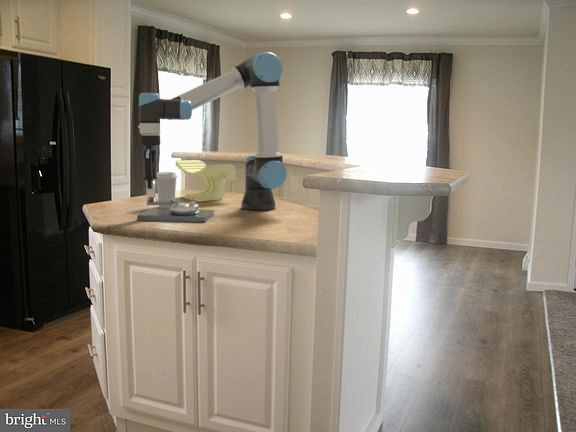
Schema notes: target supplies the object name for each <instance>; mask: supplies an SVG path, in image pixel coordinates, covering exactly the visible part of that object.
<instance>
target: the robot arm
mask: <svg viewBox="0 0 576 432" xmlns="http://www.w3.org/2000/svg"><path fill="white" fill-rule="evenodd" d="M283 68H284V67H283V64H282V61H281V59H280V57H279V56H278V55H276V54H275V53H273V52H270V51H269V52H268V51H263V52H259V53H257V54H254V55H252V56H250V57H248V58H247V59H245V60H243V61H242V62H241V63H239V64H237V65H235V66H233V67H232V68H231V70H230V71H228V72H226V73H224V74H222V75H219V76H218V77H215V78H214V79H212V80H209V81H206V82H204V83H202V84H200V85H198V86H197V87H194V88H192V89H190V90H188V91H186V92H185V91H184V93H181V94H179V95H177V96H175V97H173V98H170V99H167V98H166V99H165V98H161V97H160V94H159V93H157V92H156V93H154V92H142V93H139V95H138V96H139V97H138V115H139V116H138V119H139V122H138V123H139V125H138V126H137V128H138V129H139V134H140V135H139V145H140V146H145V150H144V151H143V157H144V158H143V161H144V178H143V180H144V181H145V184H146V187H145V189H146V198H147V197H154V181H155V182H156V179H157V177H156V174H157V150H156V148H155V146H160V145H161V136H160V135H161V120H169V121H171V120H177V121H178V120H181V121H184V120H186V121H187V120H189V121H190V119H191V118H192V115H193V113H192V112H193V110H196V109H198V108H201V107H202V106H204V105H206V104H209V103H211V102H213V101H214V100H217V99H219V98H220V97H223V96H226V95H228V94H230V93H232V92H234V91H236V90H238V89H241V90H243V89H246V88H248V87H250V89H251V90H252V91H253V92H254V103H255V121H256V138H257V139H256V141H257V152H256V153H255V155H249V156H246V158H245V163H244V165H245V191H244V194H243V196H242V197H243V198H242V199H241V203H240V206H241V209H243V210H246V211H247V210H248V211H271V210H274V209H275V210H276V205H277V204H276V201H275V200H276V199H275V196H274V193H273V189H277V188H280V187H282V186H283V185H284V183H285V182H286V180H287V176H288V170H287V167H286V166H285V164H284V161H283V159H284V157H283V154H282V153H281V152H280V151H279V128H278V106H277V90H279V88H280V86H281V85H280V77H281V76H282V75H283ZM156 190H157V186H155V197H156V195H157V192H156Z"/></svg>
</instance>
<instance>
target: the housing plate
mask: <svg viewBox="0 0 576 432" xmlns="http://www.w3.org/2000/svg"><path fill="white" fill-rule="evenodd" d="M198 211H199V213H197V214H191V215H176V214H171V213H170V208H149V209H146V210H145V211H142V212H140V213H139V214H137V216H136V217H137V220H139V222H141V221H146V222H151V221H152V222H176V223H177V222H178V223H181V222H182V223H183V222H184V223H207V222H208V221H209V220H210V219H211V218H212V217H213V216H214V215H215V210H214V209H198ZM137 220H136V221H137Z"/></svg>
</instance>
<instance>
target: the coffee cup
mask: <svg viewBox="0 0 576 432" xmlns="http://www.w3.org/2000/svg"><path fill="white" fill-rule="evenodd" d="M156 177H157V179H155V184H156V190H157V192H156V193H157V201H170V200H174V201H176V189H177V188H176V185H177V178H178V175H177V174H176V172H171V171H170V172H169V171H163V172H161V171H160V172H156ZM158 207H159V209H170V205H158Z"/></svg>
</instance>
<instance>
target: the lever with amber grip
mask: <svg viewBox="0 0 576 432" xmlns="http://www.w3.org/2000/svg"><path fill="white" fill-rule="evenodd" d="M155 187H156V180H155V181H154V197H147V196H146V206H159V205H170V208H169V209H170V213H171V214H176V215H191V214H197V213H199V211H198V210H199V204H198V203H197V201H194V200H191V201H189V202H180V201H178V200H175V201H174V200H170V201H158V200H156V196H155Z"/></svg>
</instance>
